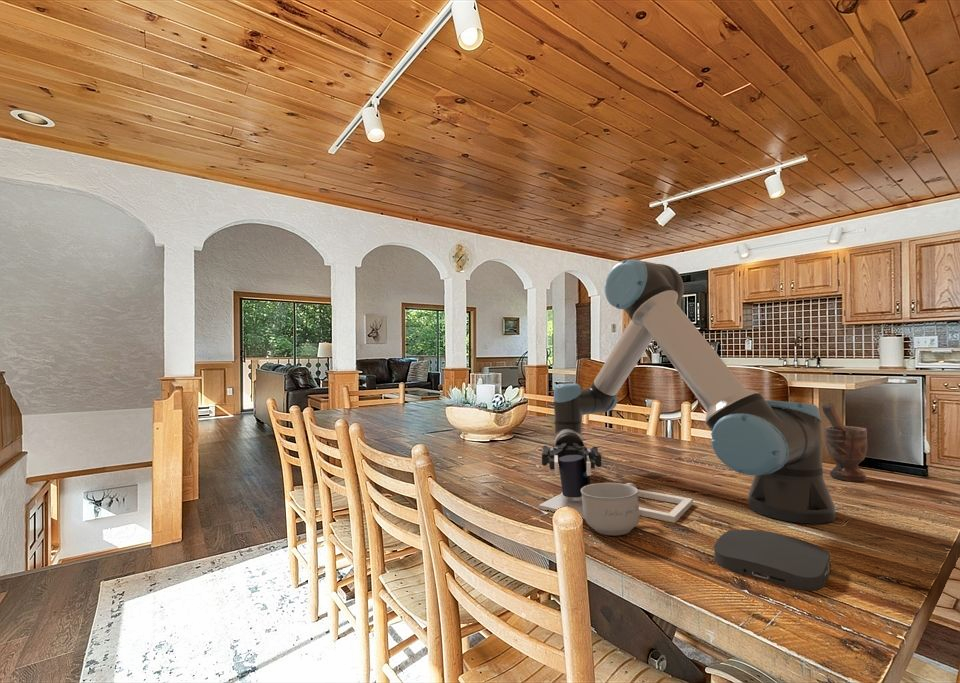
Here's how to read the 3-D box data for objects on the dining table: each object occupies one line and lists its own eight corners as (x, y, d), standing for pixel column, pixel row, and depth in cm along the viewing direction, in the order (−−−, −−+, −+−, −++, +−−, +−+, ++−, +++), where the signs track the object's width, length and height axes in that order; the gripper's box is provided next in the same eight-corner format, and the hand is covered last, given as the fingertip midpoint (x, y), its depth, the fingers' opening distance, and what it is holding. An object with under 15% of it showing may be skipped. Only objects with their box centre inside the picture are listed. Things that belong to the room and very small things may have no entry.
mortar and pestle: (864, 487, 109) (860, 405, 109) (820, 480, 115) (816, 402, 116) (871, 478, 117) (868, 401, 117) (830, 472, 123) (827, 399, 124)
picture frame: (692, 504, 100) (692, 498, 100) (674, 522, 90) (674, 516, 90) (633, 493, 109) (632, 488, 109) (610, 509, 98) (609, 503, 98)
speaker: (599, 493, 102) (594, 447, 102) (592, 502, 96) (588, 454, 97) (566, 491, 105) (562, 447, 105) (558, 499, 100) (554, 453, 100)
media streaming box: (733, 538, 83) (733, 521, 83) (834, 562, 73) (833, 543, 73) (707, 566, 72) (707, 547, 72) (821, 599, 62) (820, 577, 62)
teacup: (609, 546, 80) (607, 500, 80) (570, 526, 89) (569, 485, 90) (664, 530, 86) (662, 488, 86) (622, 513, 96) (621, 475, 96)
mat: (606, 504, 101) (606, 501, 101) (584, 519, 93) (584, 515, 93) (563, 495, 108) (563, 492, 108) (538, 508, 100) (538, 505, 100)
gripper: (607, 461, 117) (619, 488, 94) (533, 459, 120) (527, 485, 97) (606, 432, 117) (618, 452, 94) (532, 431, 120) (527, 450, 97)
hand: (572, 468), depth 96 cm, fingers closed on speaker, 6 cm apart
